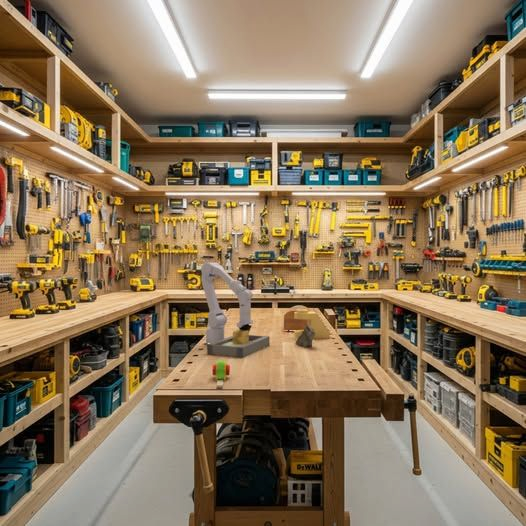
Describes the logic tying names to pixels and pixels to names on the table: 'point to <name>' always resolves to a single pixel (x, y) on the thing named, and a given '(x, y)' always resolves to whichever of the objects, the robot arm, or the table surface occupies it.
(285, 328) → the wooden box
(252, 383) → the table surface
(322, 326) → the pale yellow sloped piece
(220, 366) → the toy measuring tape
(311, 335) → the concrete fragment
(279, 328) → the table surface
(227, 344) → the trap track
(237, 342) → the block
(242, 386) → the table surface
